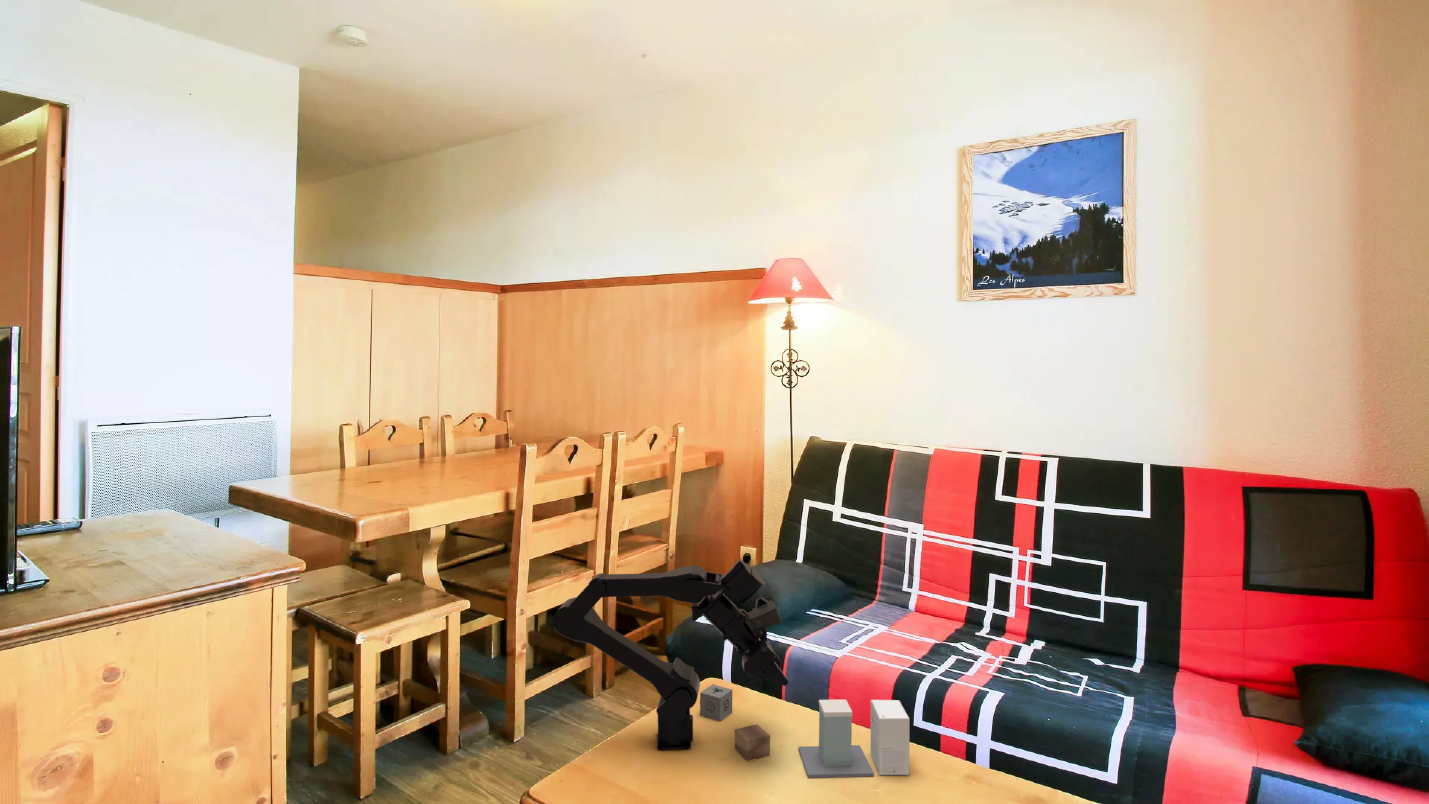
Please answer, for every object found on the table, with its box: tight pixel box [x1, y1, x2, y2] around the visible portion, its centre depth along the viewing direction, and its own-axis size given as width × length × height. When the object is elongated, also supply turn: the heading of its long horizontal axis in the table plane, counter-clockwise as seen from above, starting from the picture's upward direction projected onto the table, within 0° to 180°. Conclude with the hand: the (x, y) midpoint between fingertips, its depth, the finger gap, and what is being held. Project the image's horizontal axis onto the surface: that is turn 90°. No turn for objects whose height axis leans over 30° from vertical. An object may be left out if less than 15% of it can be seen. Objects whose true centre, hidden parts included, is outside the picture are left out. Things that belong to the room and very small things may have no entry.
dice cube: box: [699, 684, 733, 722], centre depth 154 cm, size 5×5×5 cm
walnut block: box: [734, 723, 771, 762], centre depth 138 cm, size 5×5×4 cm
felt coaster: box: [797, 744, 875, 779], centre depth 134 cm, size 12×10×1 cm
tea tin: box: [818, 699, 853, 767], centre depth 134 cm, size 5×5×10 cm
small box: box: [870, 699, 911, 776], centre depth 134 cm, size 8×6×10 cm
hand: (783, 674), depth 141 cm, fingers open, 9 cm apart
